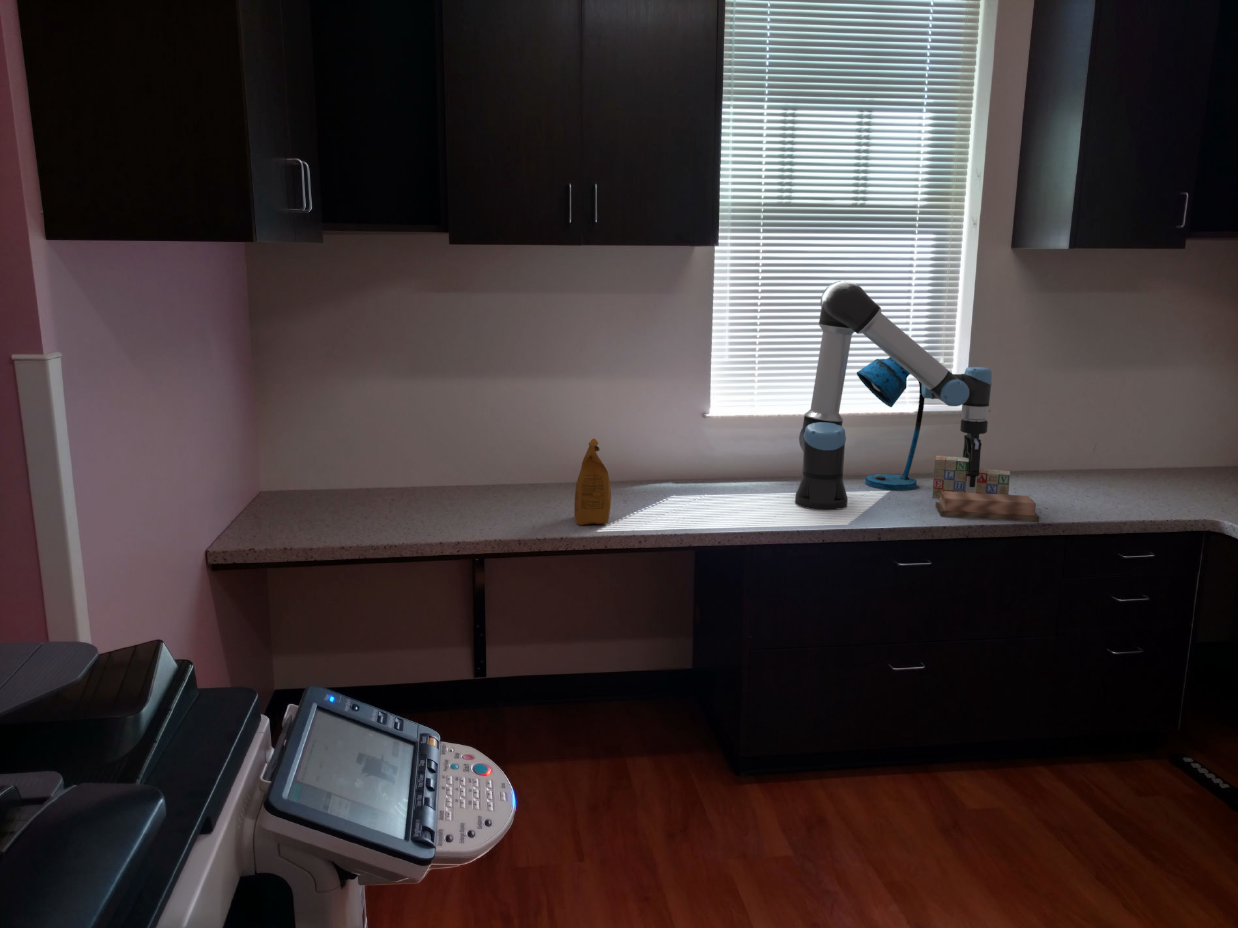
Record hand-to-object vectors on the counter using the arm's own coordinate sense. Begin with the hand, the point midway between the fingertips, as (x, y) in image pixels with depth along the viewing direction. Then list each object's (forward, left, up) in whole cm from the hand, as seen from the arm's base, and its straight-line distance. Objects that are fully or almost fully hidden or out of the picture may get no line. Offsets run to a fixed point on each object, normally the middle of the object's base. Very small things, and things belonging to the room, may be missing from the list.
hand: (968, 493), depth 283 cm
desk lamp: (-23, +15, -2) cm, 28 cm away
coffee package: (-106, -49, -2) cm, 117 cm away
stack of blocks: (+1, 0, -2) cm, 2 cm away
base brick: (+2, -18, -2) cm, 18 cm away
